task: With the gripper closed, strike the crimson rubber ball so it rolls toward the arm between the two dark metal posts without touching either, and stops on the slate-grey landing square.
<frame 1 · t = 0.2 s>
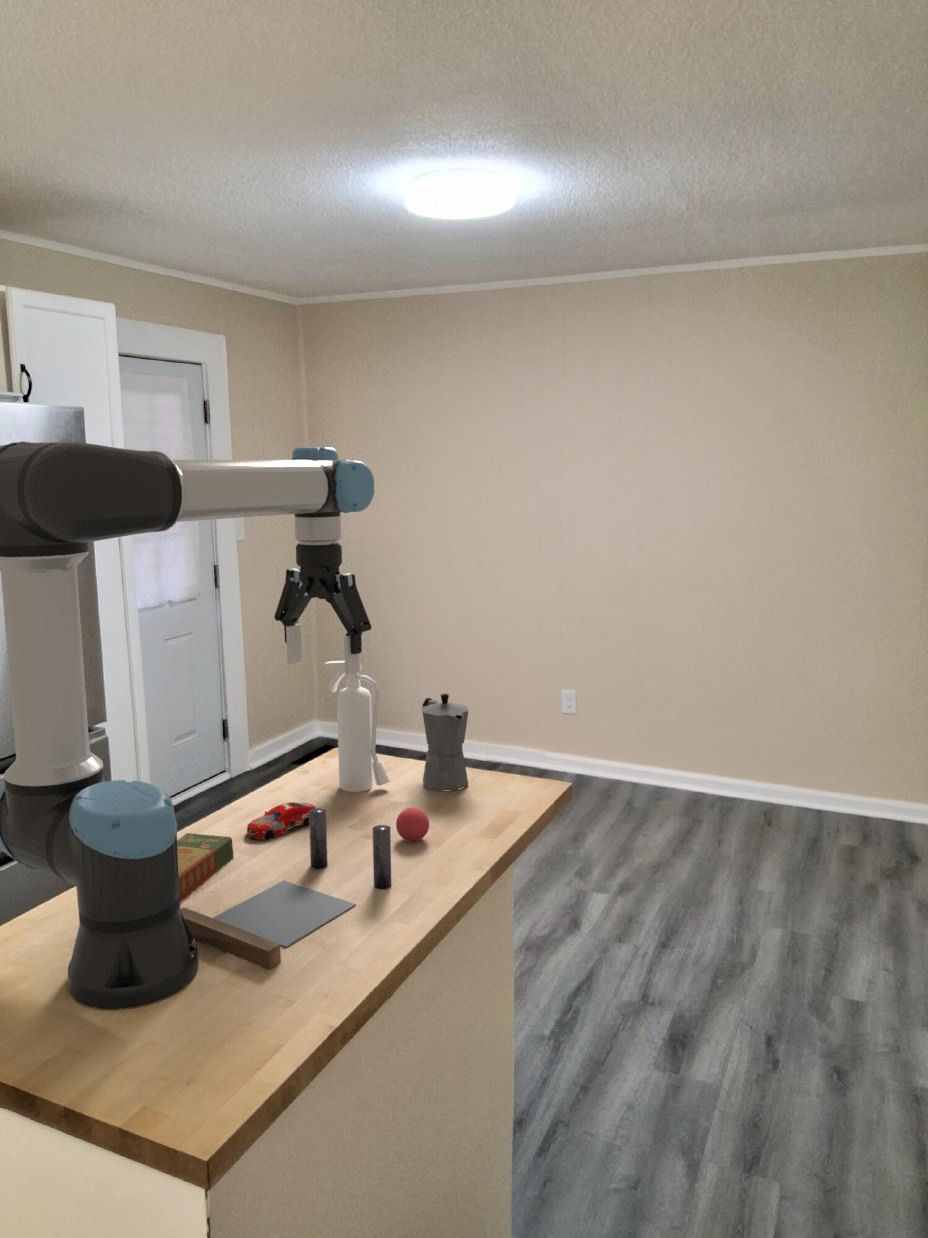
hand: (322, 667, 159), 28 cm above the counter, tool pointing down, fingers open, 13 cm apart
ball: (412, 824, 156), on the counter
carton: (184, 880, 144), on the counter
stopper wall: (225, 946, 123), on the counter
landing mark: (285, 912, 132), on the counter
near post: (382, 885, 140), on the counter
fire extinguisher: (359, 787, 182), on the counter
far post: (319, 865, 147), on the counter
coffeepot: (442, 783, 185), on the counter
race car: (282, 831, 162), on the counter
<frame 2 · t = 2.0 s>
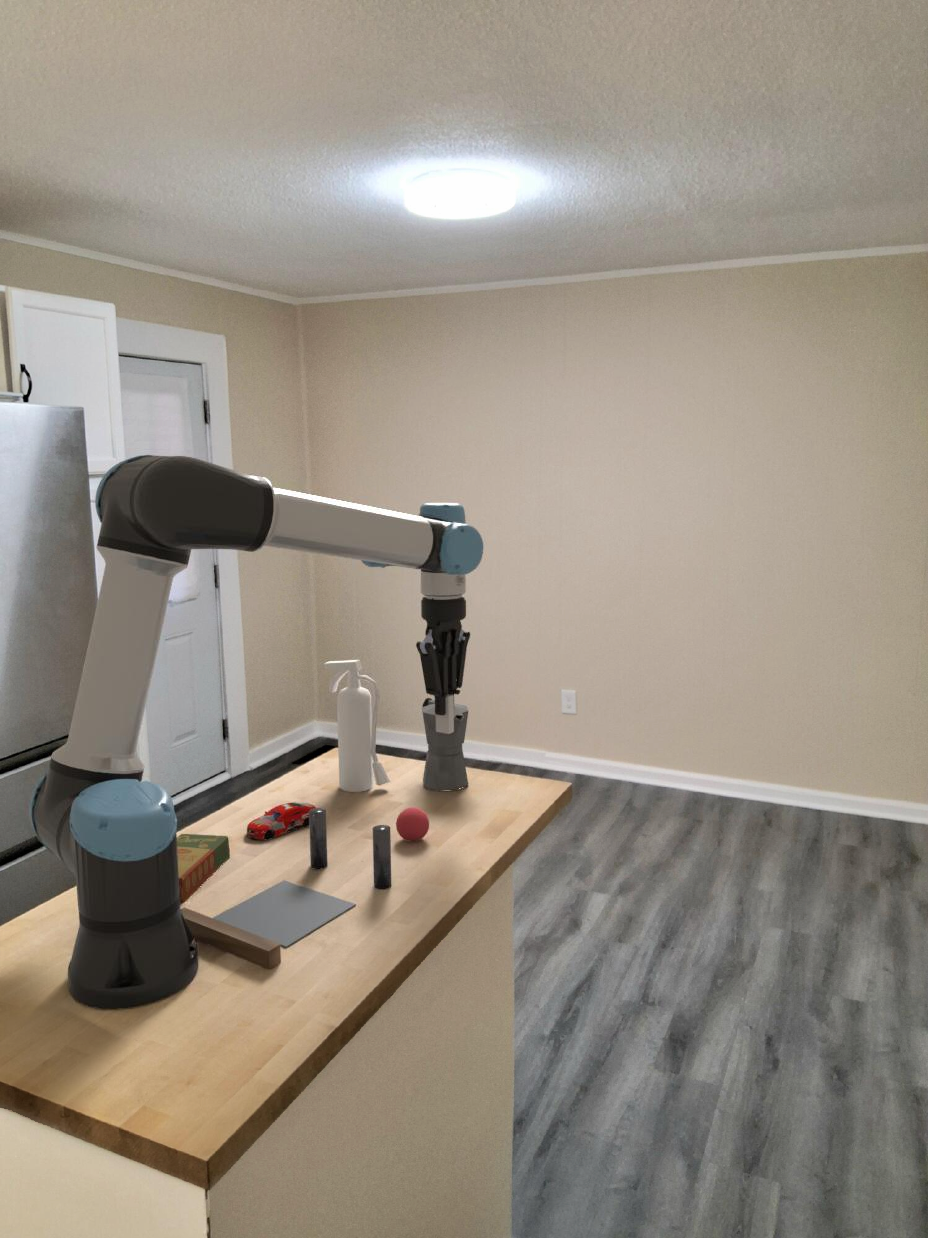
hand: (444, 731, 162), 16 cm above the counter, tool pointing down, fingers closed
nothing on the counter moved.
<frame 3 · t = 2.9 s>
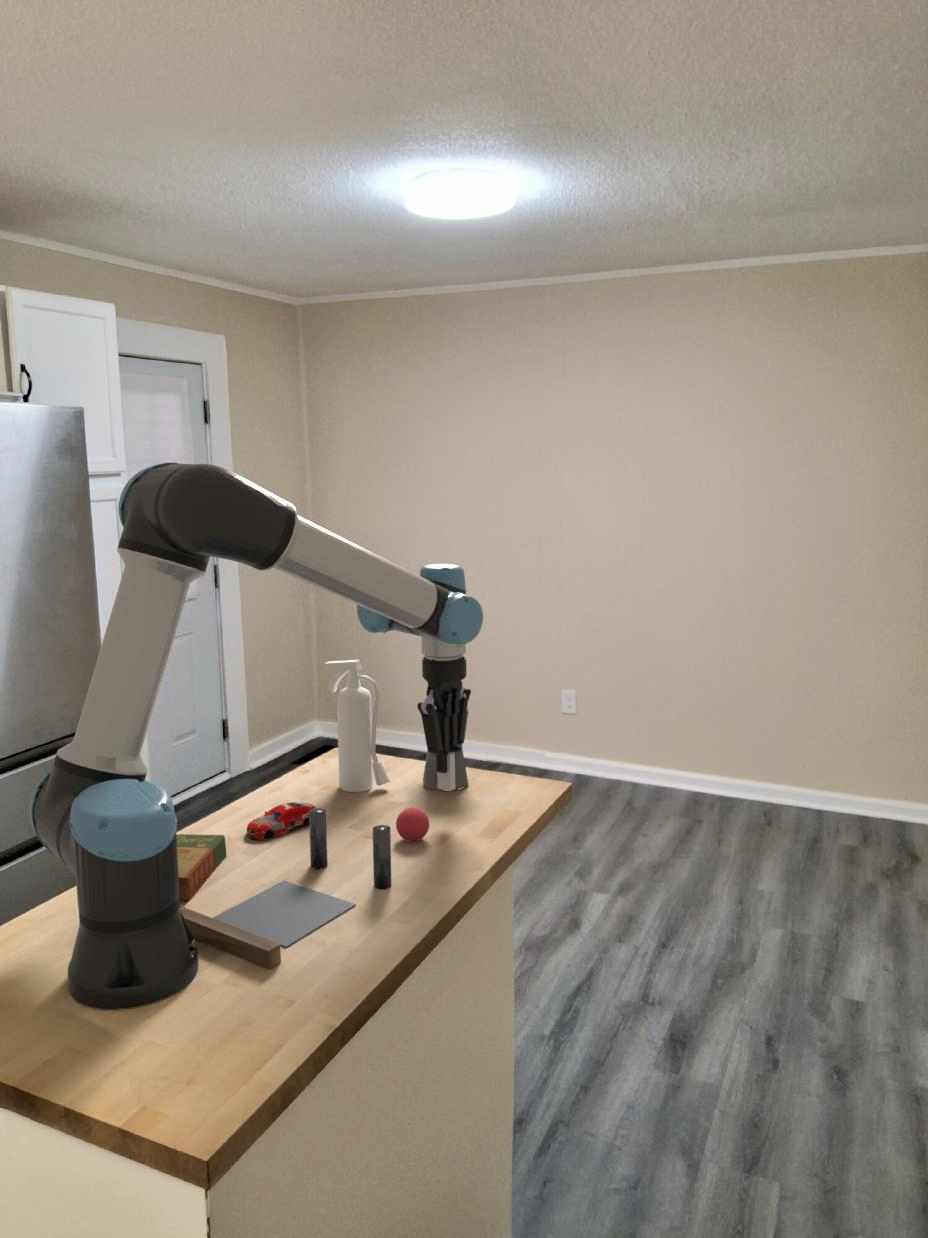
hand: (446, 788, 164), 6 cm above the counter, tool pointing down, fingers closed
nothing on the counter moved.
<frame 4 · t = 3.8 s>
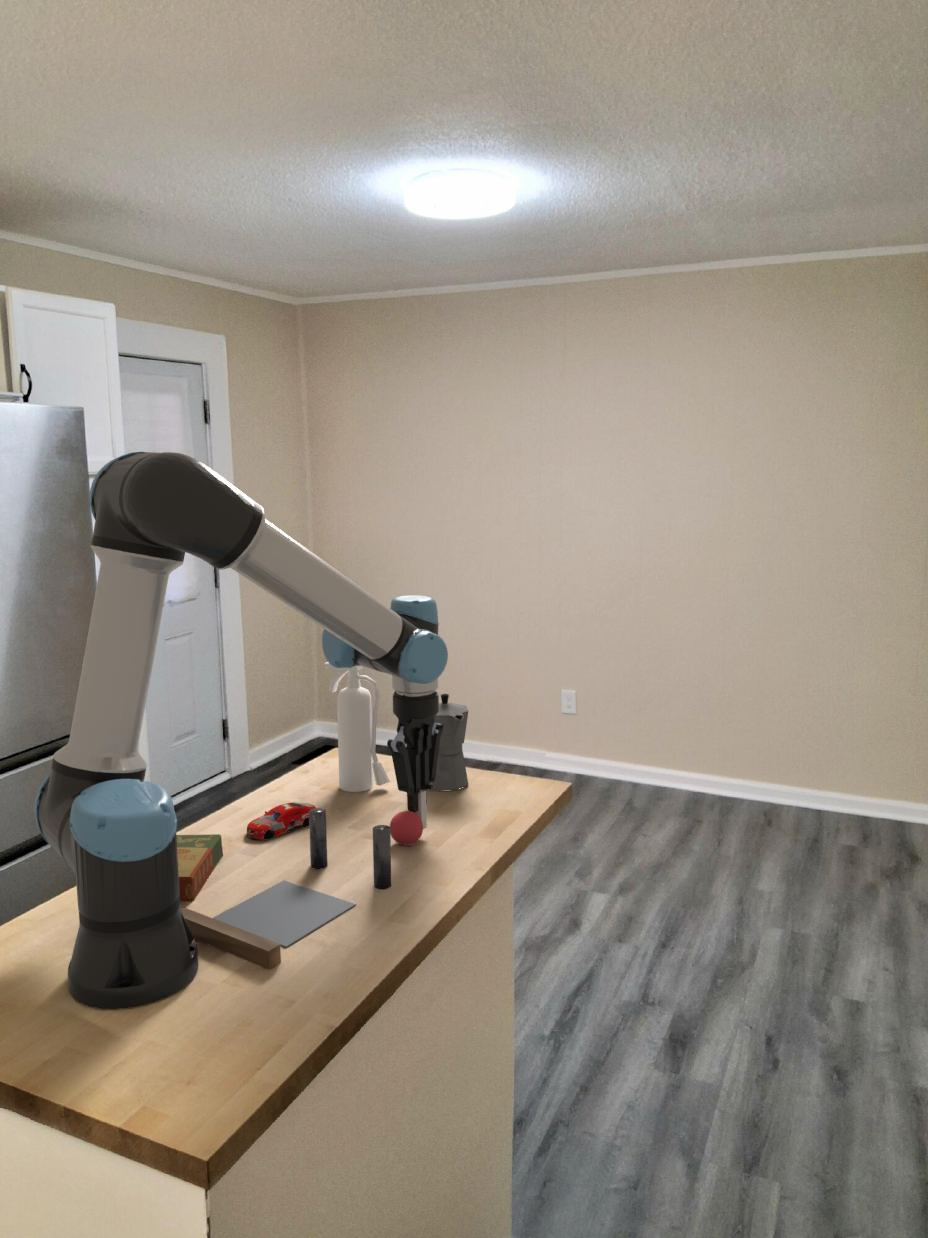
hand: (417, 827, 158), 2 cm above the counter, tool pointing down, fingers closed
ball: (406, 828, 155), on the counter, touching gripper
everything else where it was.
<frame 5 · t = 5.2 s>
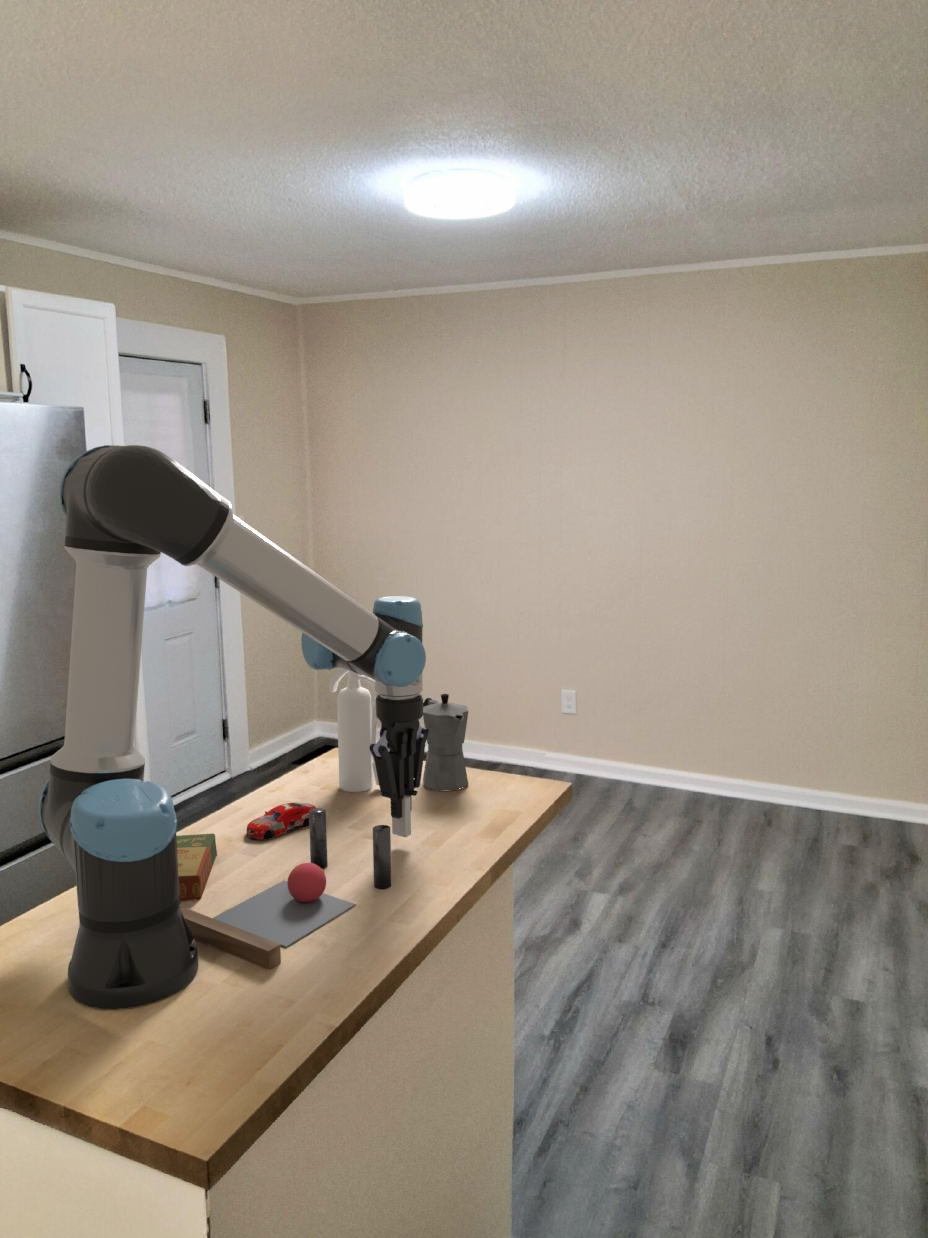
hand: (401, 834, 154), 2 cm above the counter, tool pointing down, fingers closed
ball: (306, 882, 135), on the counter
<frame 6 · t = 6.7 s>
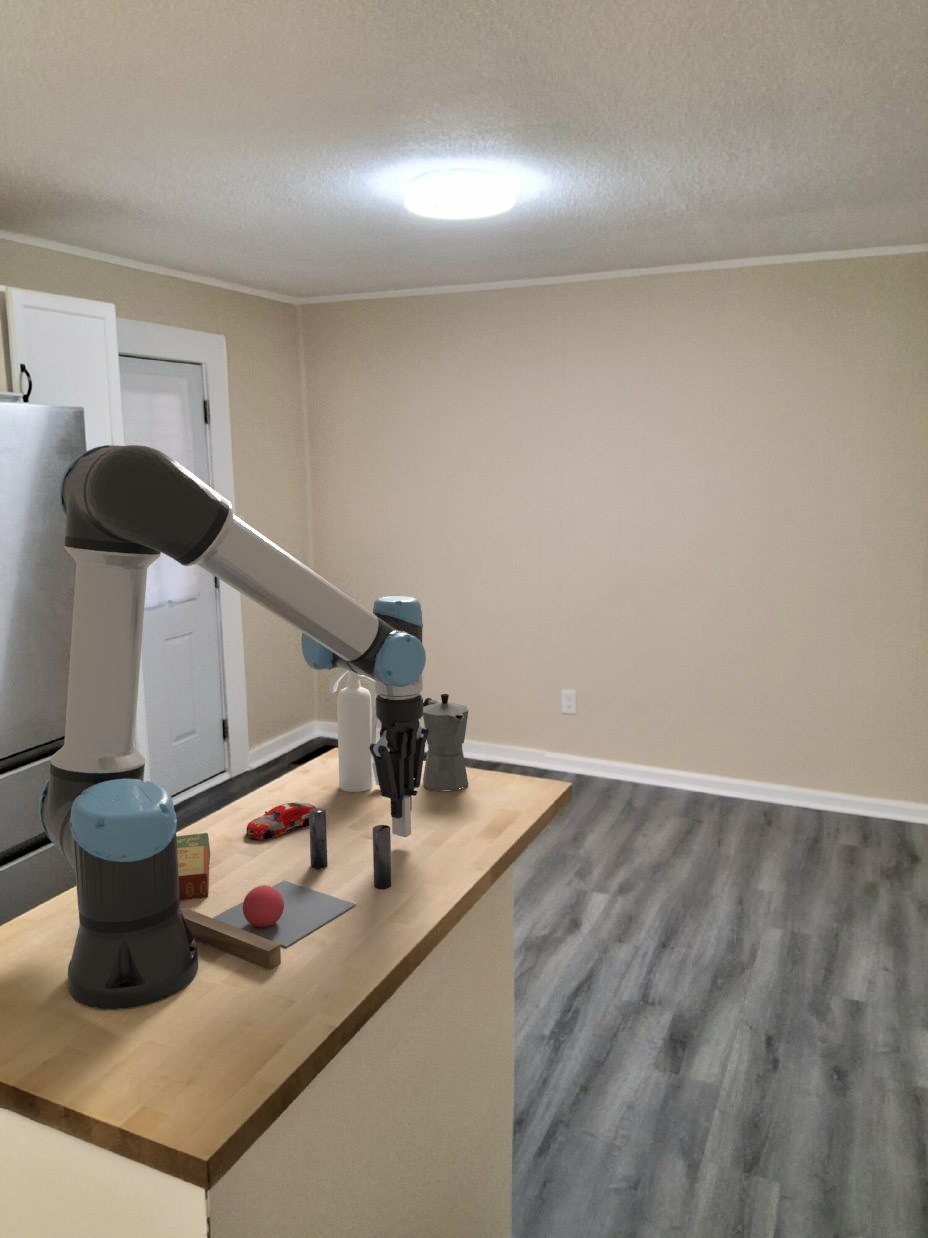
hand: (401, 834, 154), 2 cm above the counter, tool pointing down, fingers closed
ball: (263, 906, 128), on the counter
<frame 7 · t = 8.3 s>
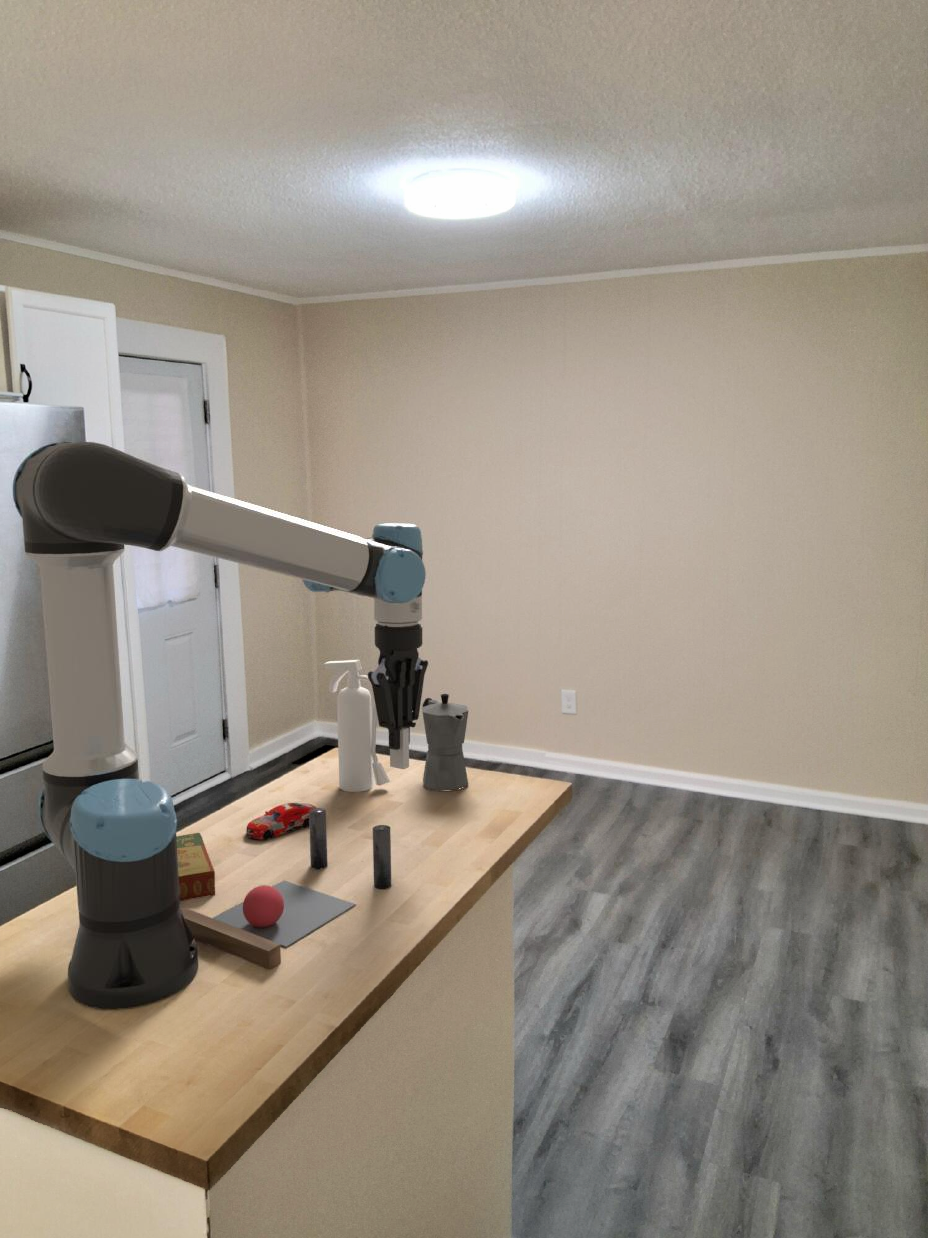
hand: (399, 766, 152), 14 cm above the counter, tool pointing down, fingers closed
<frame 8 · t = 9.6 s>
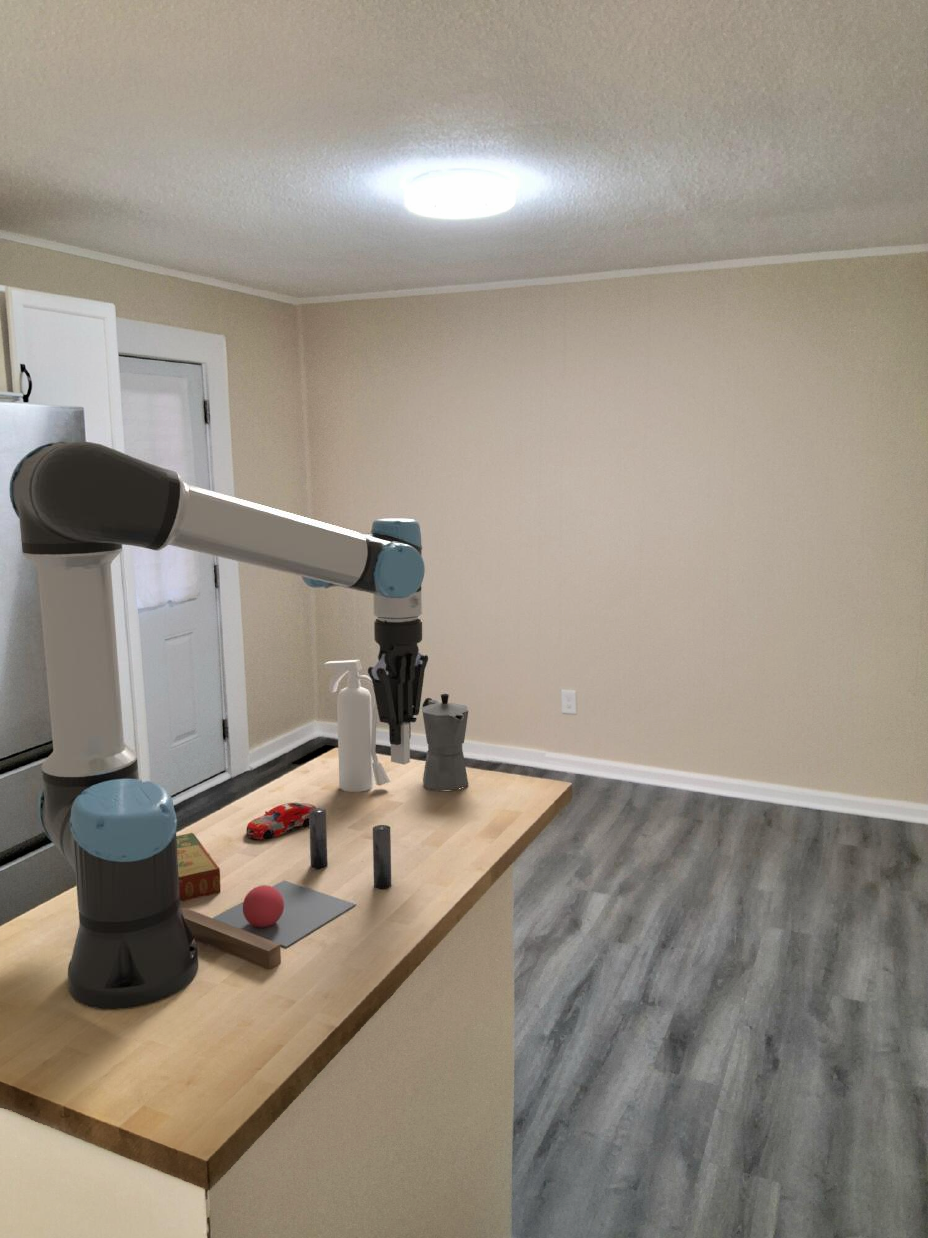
hand: (400, 761, 152), 14 cm above the counter, tool pointing down, fingers closed
at the end: ball 4.2 cm from the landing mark (horizontally); ball never touched near post; ball never touched far post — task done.
